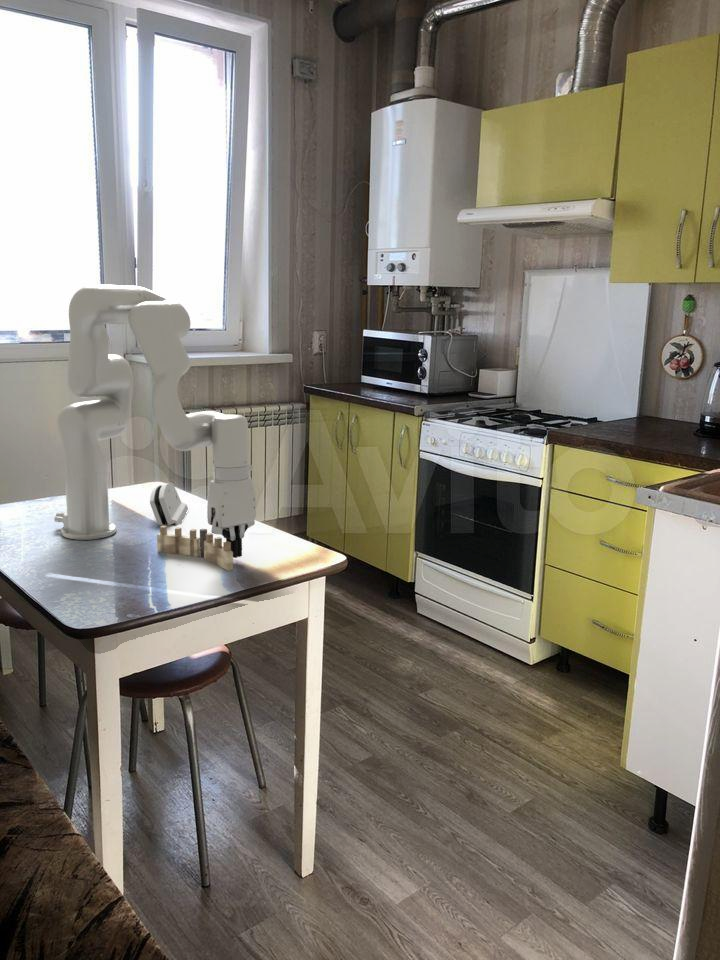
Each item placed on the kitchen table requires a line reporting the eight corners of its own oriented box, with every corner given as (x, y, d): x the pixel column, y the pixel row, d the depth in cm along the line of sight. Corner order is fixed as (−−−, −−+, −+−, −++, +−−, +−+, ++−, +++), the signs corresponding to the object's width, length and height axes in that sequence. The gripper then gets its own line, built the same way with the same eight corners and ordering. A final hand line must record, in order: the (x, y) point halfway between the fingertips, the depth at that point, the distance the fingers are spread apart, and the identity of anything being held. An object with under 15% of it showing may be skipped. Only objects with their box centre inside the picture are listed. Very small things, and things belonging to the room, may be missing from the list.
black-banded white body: (179, 528, 198) (164, 491, 196) (161, 533, 198) (146, 497, 196) (189, 509, 214) (175, 475, 212) (172, 515, 214) (158, 481, 212)
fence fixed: (157, 552, 178) (156, 525, 176) (160, 550, 179) (159, 523, 178) (205, 559, 175) (205, 531, 174) (208, 556, 177) (208, 529, 175)
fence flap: (204, 558, 175) (203, 533, 173) (208, 557, 176) (208, 532, 174) (228, 570, 168) (227, 544, 166) (232, 569, 168) (232, 543, 167)
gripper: (248, 465, 176) (251, 545, 180) (191, 475, 166) (195, 559, 170) (270, 470, 171) (272, 552, 175) (212, 481, 161) (216, 567, 165)
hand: (234, 555), depth 172 cm, fingers closed
